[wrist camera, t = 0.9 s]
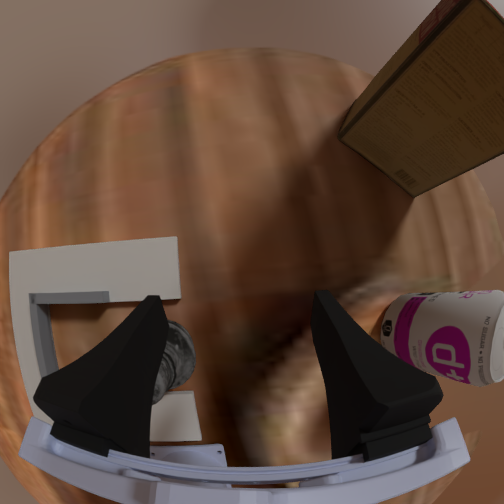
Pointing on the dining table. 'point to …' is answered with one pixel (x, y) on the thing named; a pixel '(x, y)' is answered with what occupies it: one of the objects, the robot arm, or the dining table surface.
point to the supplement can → (449, 334)
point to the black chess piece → (175, 361)
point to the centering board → (94, 291)
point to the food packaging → (435, 100)
